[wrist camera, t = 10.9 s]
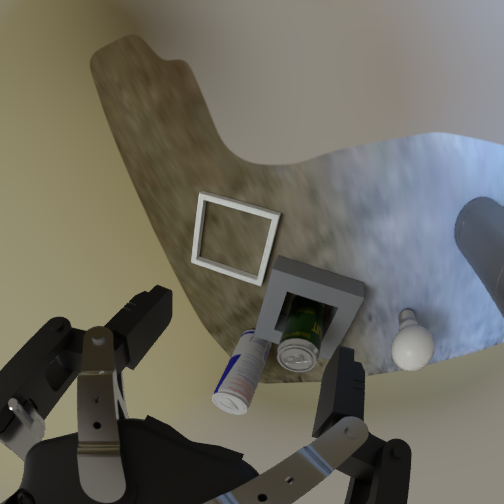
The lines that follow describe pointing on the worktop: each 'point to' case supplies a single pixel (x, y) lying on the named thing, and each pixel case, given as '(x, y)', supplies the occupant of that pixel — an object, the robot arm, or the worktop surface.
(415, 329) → the lightbulb
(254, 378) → the beverage can
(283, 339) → the beer can
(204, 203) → the square frame
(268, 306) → the socket block
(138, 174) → the worktop surface
